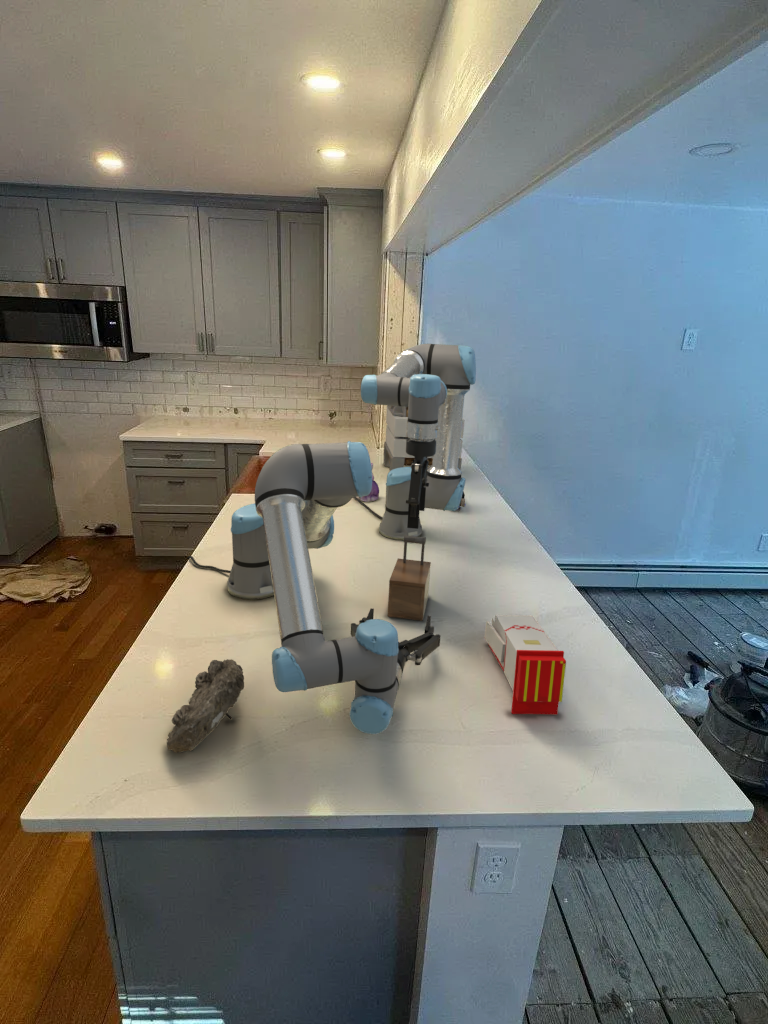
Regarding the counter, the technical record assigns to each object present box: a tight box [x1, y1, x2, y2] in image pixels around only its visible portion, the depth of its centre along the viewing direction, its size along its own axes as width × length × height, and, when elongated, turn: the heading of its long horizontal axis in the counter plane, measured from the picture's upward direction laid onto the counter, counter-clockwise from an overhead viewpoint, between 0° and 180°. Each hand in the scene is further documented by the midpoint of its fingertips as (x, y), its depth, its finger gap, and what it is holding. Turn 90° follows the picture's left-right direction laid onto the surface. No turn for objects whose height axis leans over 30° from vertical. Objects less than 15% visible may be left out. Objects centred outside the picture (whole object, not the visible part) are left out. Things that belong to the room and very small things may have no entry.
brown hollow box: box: [387, 569, 431, 622], centre depth 150 cm, size 13×9×10 cm
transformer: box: [383, 405, 465, 472], centre depth 268 cm, size 34×33×41 cm
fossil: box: [166, 658, 245, 754], centre depth 106 cm, size 22×10×15 cm
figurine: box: [358, 462, 380, 503], centre depth 232 cm, size 9×10×15 cm
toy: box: [484, 614, 567, 716], centre depth 124 cm, size 12×13×30 cm
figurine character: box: [457, 490, 466, 511], centre depth 229 cm, size 7×8×15 cm
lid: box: [388, 535, 432, 588], centre depth 147 cm, size 14×9×9 cm, turn 170°
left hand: (400, 617), depth 134 cm, fingers open, 13 cm apart
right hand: (416, 518), depth 148 cm, fingers open, 13 cm apart
